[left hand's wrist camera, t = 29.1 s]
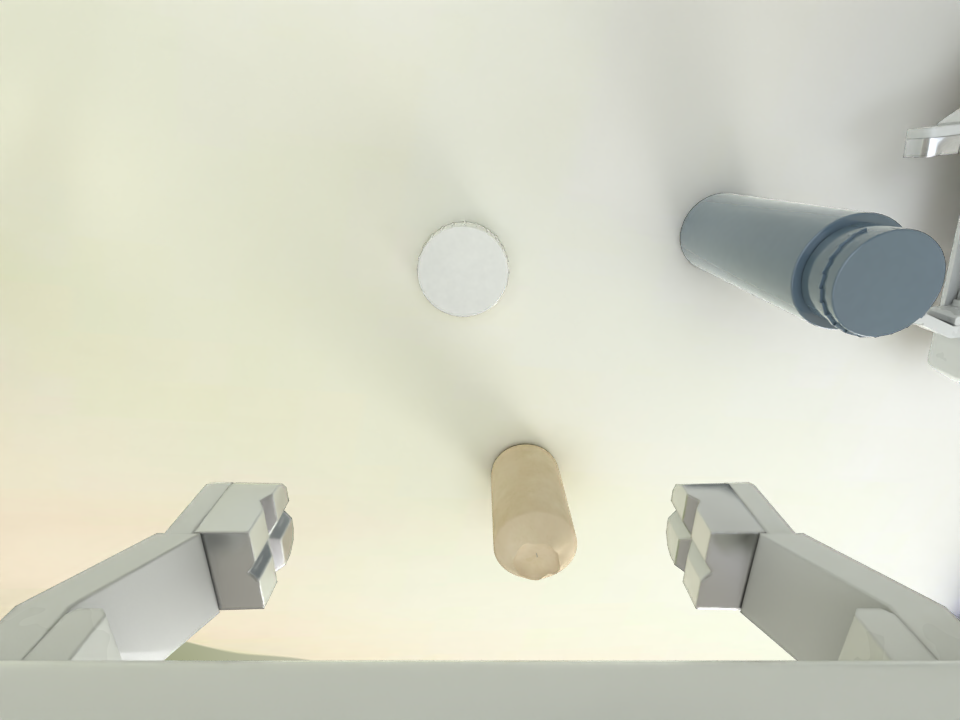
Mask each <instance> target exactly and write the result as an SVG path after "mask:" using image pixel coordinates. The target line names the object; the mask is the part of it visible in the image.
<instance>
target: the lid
mask: <svg viewBox="0 0 960 720" xmlns="http://www.w3.org/2000/svg"><path fill="white" fill-rule="evenodd" d="M418 259H419V262H418V268H417V272H418V280H419V284H420V287H421V290H422V292H423V293H424V295H425V297H426V298H427V299H428V300H429V302H430V303H431V304H432V305H433V306H435V307H436V308H437V309H439V310H440V311H442V312H444V313H447V314H450V315H453V316H460V317H468V316H474V315H478V314H480V313H483V312H485V311H486V310H488V309H490V308H491V307H492V306H493V305H495V304H496V302H497V301H498V300H499V299H500V298H501V296H502V294H503V293H504V291H505V288H506V285H507V282H508V275H509V269H508V262H509V261H508V258H507V256H506V255H505V251H504V246H503V245H501V243H500V241H499V240H498V239H497V236H495V235H494V234H493V233H492V232H490V231H489V230H488V228H484V227H482V226H480V225H478V224H477V223H476V224H474V223H469V222H466V221H464V222H458V223H454V222H452V224H450V225H447V226H445V227H443V226H442V227H441V229H440V230H438V231H437V232H436V233H435V234H434V233H433V234H432V235H431V237H430V239H429V241H428V242H426V243H425V245H424V246H423V250H422V253H421V254H420V256H419V258H418Z"/></svg>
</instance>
